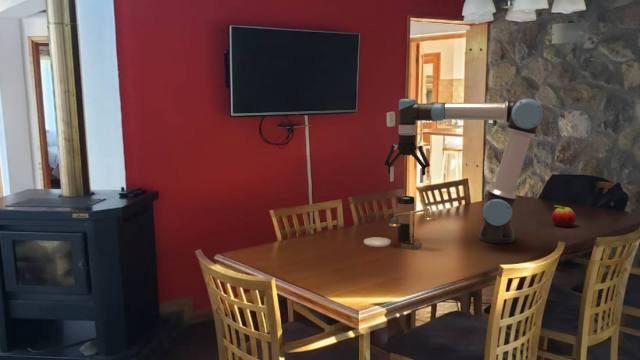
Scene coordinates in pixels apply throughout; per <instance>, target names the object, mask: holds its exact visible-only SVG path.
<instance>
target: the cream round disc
mask: <svg viewBox="0 0 640 360" xmlns="http://www.w3.org/2000/svg"><path fill="white" fill-rule="evenodd" d="M391 241H392V240H391V239H389V238H387V237H380V236H379V237H378V236H377V237H376V236H374V237H367V238H365V239H363V244H364V245H365V246H367V247H371V248H372V247H373V248H381V247H382V248H383V247H387V246H390V245H391V244H392V243H391Z"/></svg>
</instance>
